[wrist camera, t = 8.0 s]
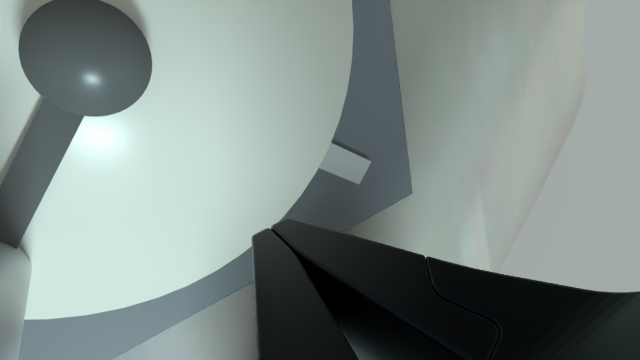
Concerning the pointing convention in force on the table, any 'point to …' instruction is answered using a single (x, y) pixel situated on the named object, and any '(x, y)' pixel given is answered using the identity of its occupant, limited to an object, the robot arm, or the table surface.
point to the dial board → (311, 207)
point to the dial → (153, 141)
